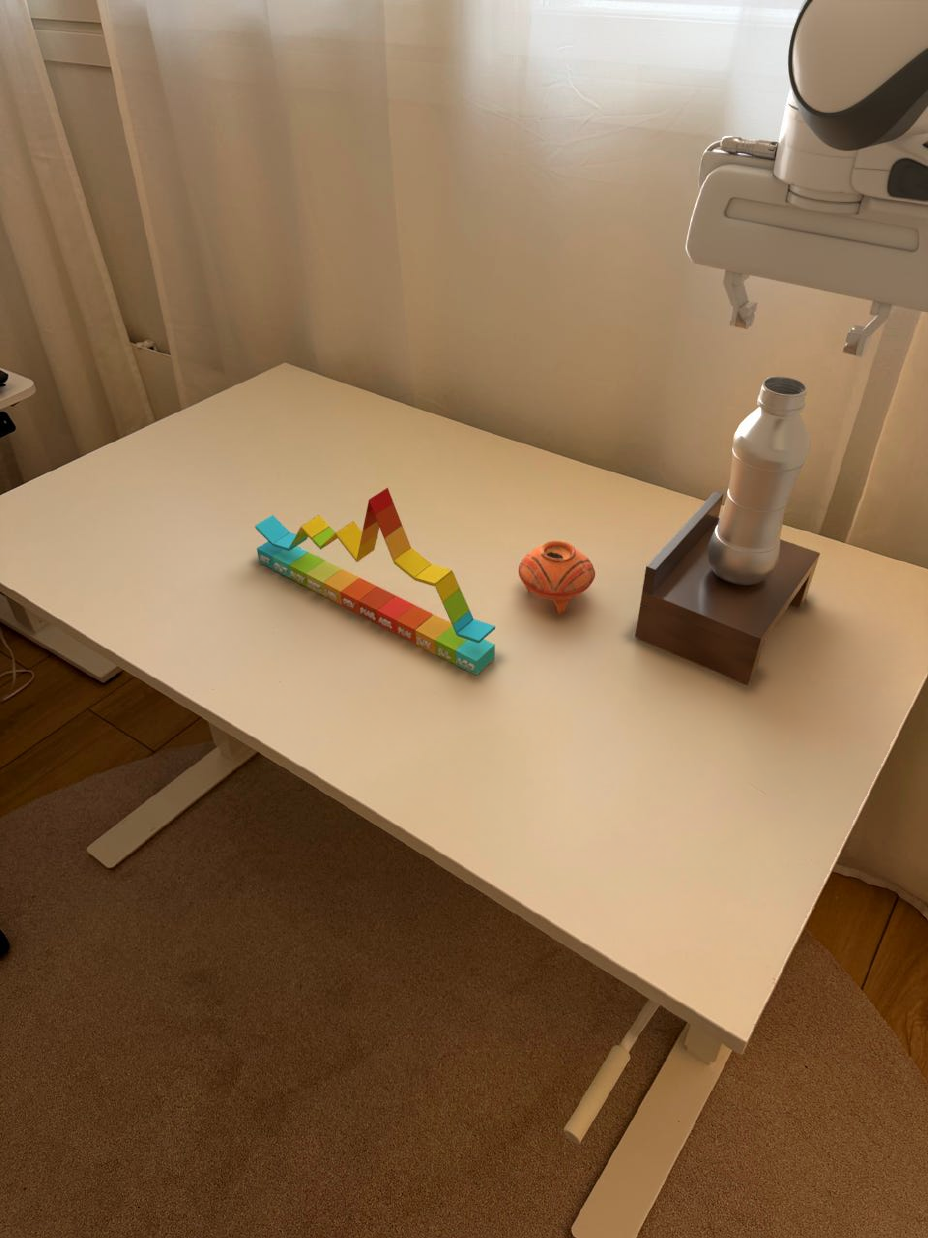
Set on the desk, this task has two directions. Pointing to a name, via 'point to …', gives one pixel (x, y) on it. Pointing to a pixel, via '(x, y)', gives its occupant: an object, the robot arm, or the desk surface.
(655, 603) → the shelf
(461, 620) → the chart
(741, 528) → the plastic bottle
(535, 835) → the desk surface
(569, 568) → the pot
